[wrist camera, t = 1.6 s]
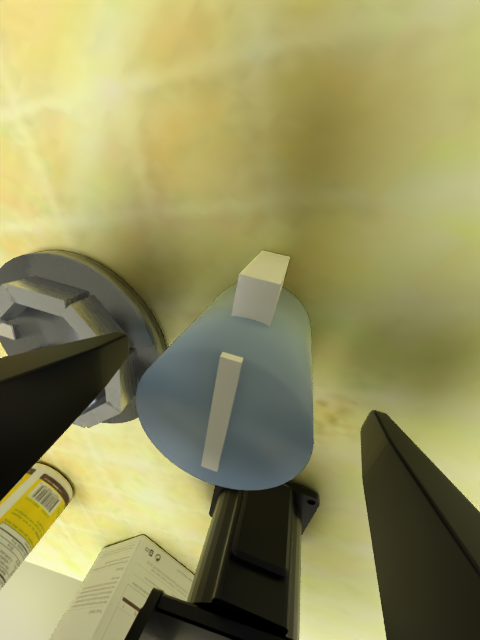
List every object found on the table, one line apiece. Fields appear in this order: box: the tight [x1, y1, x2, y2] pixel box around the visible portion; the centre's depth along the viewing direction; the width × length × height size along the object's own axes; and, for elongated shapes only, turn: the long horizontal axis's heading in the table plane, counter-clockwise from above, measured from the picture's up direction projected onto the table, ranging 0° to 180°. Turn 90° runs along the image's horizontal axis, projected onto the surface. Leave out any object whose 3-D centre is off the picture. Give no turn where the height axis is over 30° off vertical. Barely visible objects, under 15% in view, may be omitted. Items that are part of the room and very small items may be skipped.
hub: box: [0, 250, 167, 428], centre depth 14 cm, size 11×11×2 cm
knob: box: [136, 250, 314, 490], centre depth 9 cm, size 6×5×6 cm
